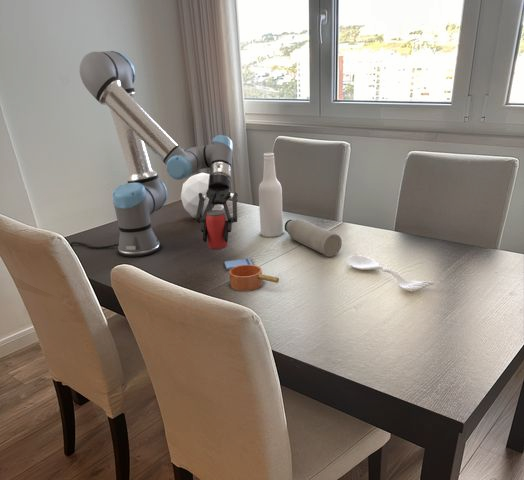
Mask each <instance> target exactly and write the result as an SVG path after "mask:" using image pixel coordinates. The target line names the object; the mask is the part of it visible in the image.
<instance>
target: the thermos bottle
mask: <svg viewBox="0 0 524 480" xmlns="http://www.w3.org/2000/svg"><path fill="white" fill-rule="evenodd" d="M284 231H285V232H287V234H288V236H289V237H290V238H291V239H292V240H294V241H295V242H298V243H300V244H302V245H304V246H306V247H308V248H309V249H311V250H314V251H316V252H318V253H319V254H322V255H324V256H325V257H328V258H332V257H334V256H337V254H339V252H340V251H341V249H342V246H343V245H342V244H343V242H342V241H343V240H342V238H341V236H340V235H339V234H337V233H335V232H333V231H330V230H328V229H325V228H324V227H320V226H318V225H316V224H314V223H311V222H310V221H307V220H304V219H302V218H296V219H288V220H287V221H286V222H285V223H284Z"/></svg>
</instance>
